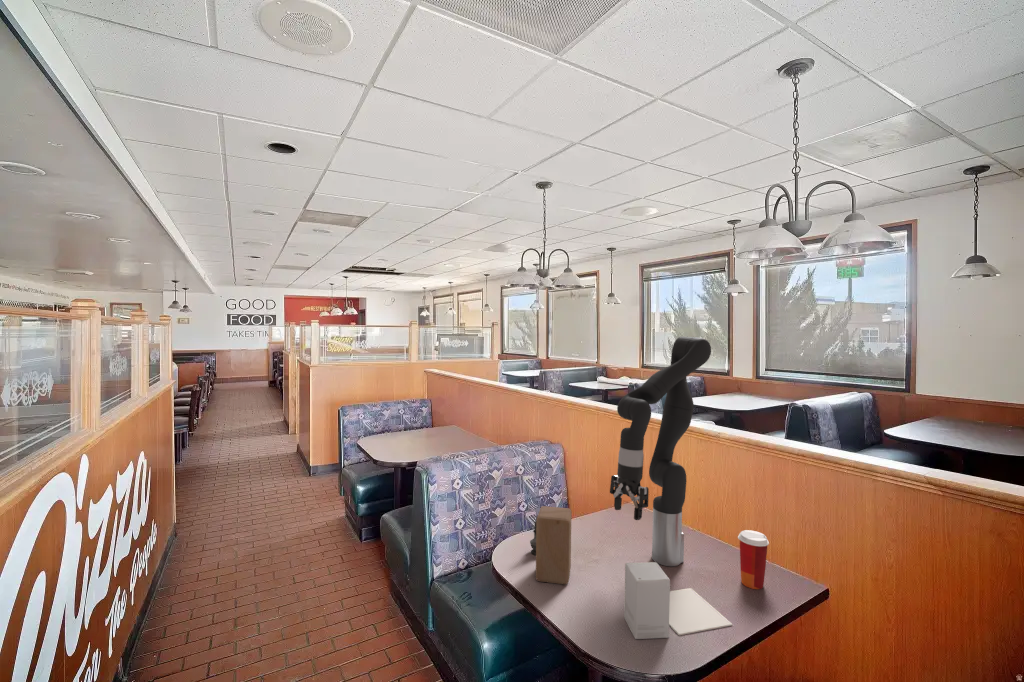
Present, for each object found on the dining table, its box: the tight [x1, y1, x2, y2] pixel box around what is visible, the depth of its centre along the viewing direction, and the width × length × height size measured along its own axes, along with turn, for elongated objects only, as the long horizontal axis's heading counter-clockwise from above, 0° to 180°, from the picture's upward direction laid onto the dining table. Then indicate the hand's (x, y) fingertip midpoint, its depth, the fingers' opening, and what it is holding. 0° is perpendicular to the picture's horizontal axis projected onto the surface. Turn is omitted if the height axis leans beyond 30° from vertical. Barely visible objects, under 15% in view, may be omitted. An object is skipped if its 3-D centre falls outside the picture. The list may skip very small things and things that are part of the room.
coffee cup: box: [737, 529, 770, 590], centre depth 139 cm, size 8×8×15 cm
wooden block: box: [535, 505, 573, 585], centre depth 143 cm, size 10×10×20 cm
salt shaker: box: [529, 520, 537, 557], centre depth 157 cm, size 6×6×12 cm
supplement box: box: [623, 561, 671, 640], centre depth 119 cm, size 9×9×15 cm
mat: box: [669, 587, 733, 636], centre depth 126 cm, size 16×17×1 cm
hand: (627, 514), depth 142 cm, fingers open, 8 cm apart
